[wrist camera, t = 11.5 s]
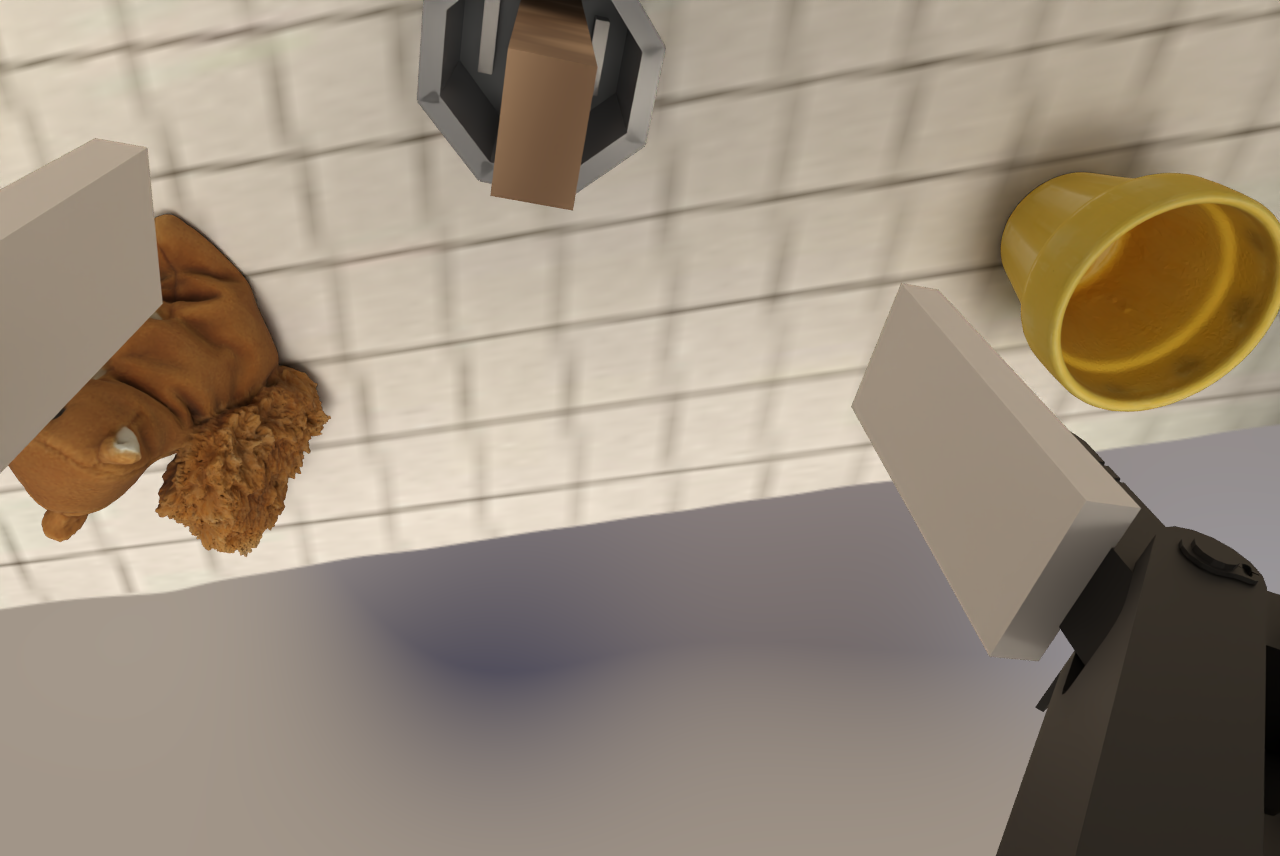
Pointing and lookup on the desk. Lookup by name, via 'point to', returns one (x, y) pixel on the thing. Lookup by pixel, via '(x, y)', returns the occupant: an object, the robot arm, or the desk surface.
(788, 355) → the desk surface
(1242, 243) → the plant pot
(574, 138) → the tan wooden beam
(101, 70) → the desk surface
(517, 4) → the jar
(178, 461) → the stuffed squirrel
